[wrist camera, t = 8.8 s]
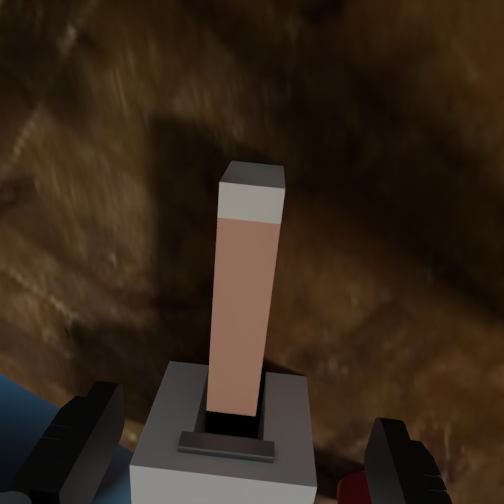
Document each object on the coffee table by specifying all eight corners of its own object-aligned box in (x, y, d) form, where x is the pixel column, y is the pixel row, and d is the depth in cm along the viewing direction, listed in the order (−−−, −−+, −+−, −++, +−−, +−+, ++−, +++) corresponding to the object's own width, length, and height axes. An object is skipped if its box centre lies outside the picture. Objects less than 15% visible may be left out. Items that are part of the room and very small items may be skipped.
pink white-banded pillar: (283, 166, 26) (285, 188, 20) (259, 360, 33) (255, 416, 27) (231, 160, 26) (219, 181, 20) (218, 355, 33) (206, 410, 27)
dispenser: (307, 371, 33) (318, 481, 24) (292, 448, 37) (297, 568, 28) (169, 355, 33) (129, 458, 24) (169, 434, 37) (134, 548, 28)
